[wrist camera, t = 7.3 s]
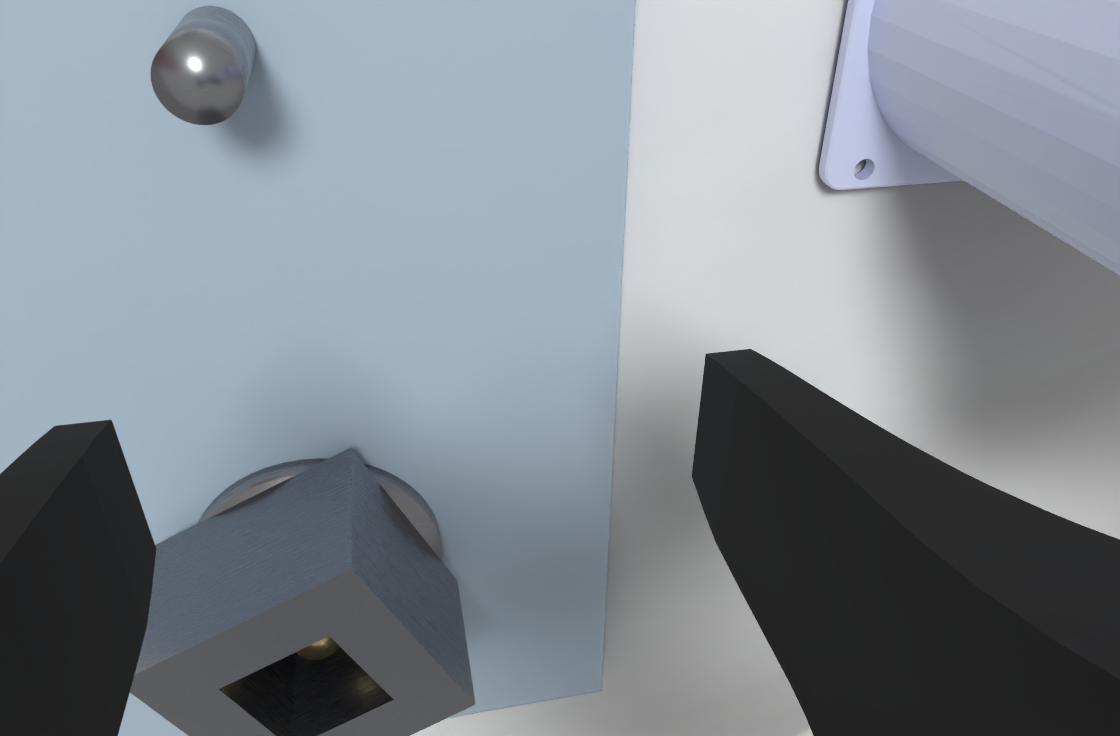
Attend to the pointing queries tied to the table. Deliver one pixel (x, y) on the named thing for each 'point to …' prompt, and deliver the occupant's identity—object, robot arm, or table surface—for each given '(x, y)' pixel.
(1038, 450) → the table surface
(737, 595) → the table surface
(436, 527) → the hub
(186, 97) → the metal cylinder
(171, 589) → the collar
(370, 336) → the board
